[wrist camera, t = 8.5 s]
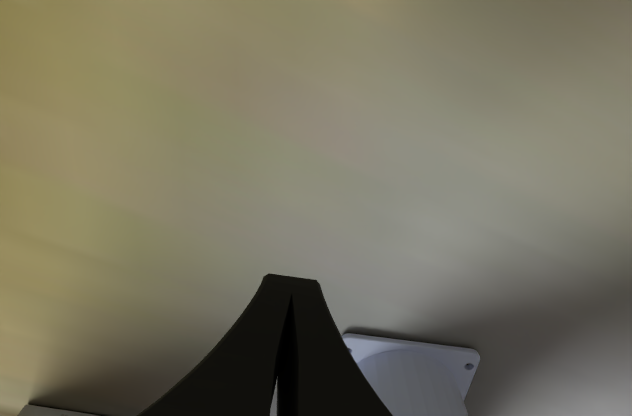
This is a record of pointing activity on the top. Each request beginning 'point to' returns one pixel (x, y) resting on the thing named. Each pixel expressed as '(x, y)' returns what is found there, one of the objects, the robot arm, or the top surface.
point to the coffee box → (48, 412)
